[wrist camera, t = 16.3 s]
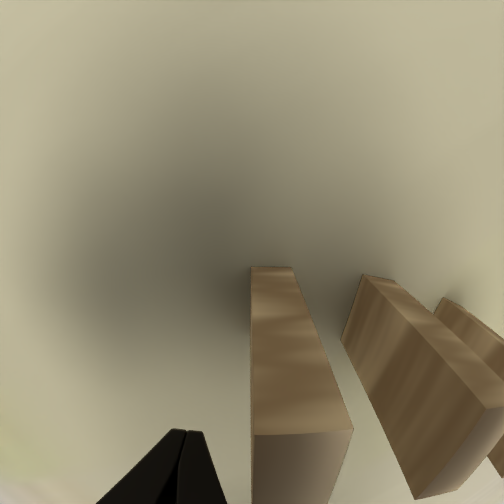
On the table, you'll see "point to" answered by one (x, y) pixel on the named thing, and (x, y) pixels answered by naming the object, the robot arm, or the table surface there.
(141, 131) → the table surface
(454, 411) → the maple domino
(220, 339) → the table surface
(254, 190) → the table surface
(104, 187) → the table surface
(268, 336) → the maple domino
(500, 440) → the maple domino
